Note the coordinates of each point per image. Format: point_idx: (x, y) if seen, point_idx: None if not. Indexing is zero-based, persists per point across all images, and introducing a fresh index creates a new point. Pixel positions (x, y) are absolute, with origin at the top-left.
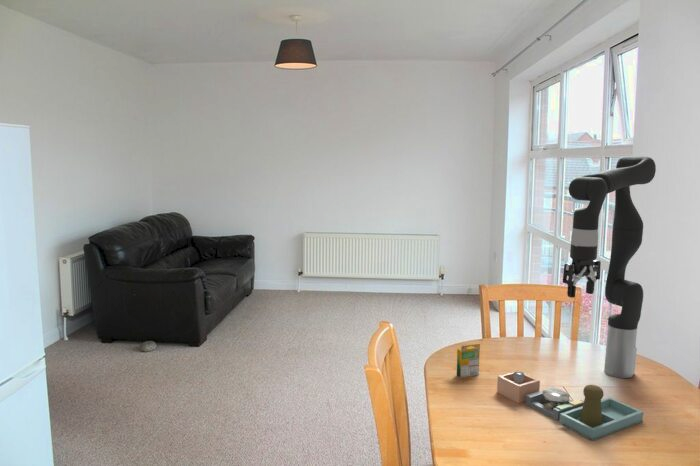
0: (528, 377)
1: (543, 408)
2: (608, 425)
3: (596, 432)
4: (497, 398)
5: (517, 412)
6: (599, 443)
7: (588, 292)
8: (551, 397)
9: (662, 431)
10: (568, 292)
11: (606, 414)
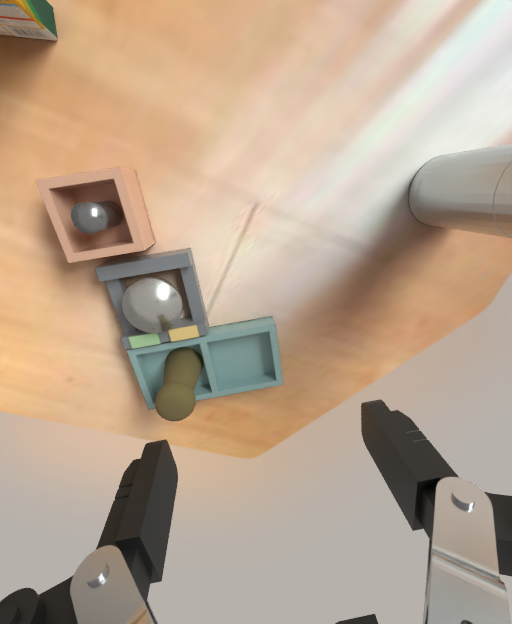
0: (127, 219)
1: (116, 311)
2: None
3: None
4: None
5: (71, 281)
6: None
7: (365, 421)
8: (130, 317)
9: (281, 402)
10: (124, 490)
11: (212, 375)
